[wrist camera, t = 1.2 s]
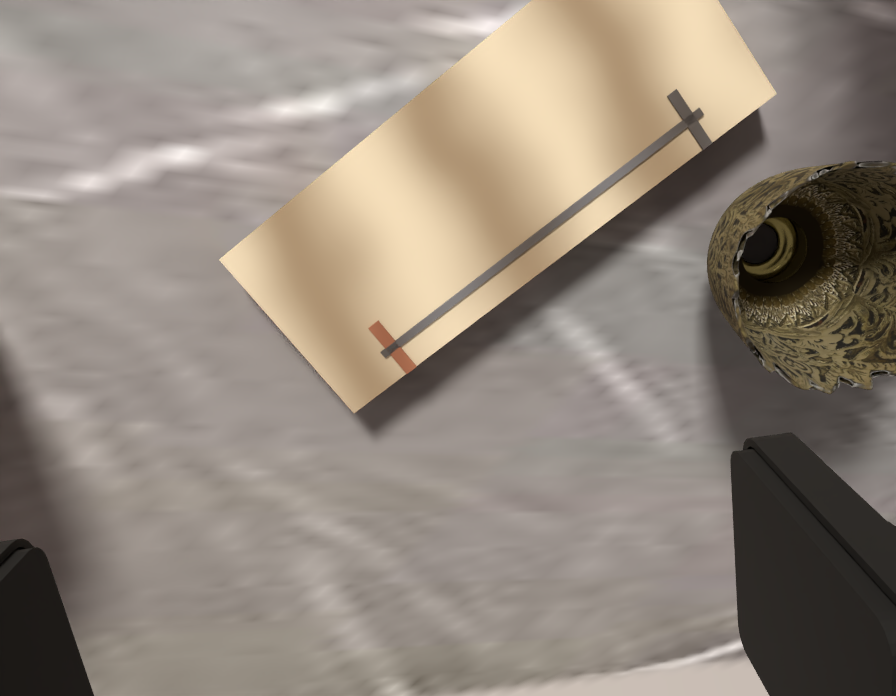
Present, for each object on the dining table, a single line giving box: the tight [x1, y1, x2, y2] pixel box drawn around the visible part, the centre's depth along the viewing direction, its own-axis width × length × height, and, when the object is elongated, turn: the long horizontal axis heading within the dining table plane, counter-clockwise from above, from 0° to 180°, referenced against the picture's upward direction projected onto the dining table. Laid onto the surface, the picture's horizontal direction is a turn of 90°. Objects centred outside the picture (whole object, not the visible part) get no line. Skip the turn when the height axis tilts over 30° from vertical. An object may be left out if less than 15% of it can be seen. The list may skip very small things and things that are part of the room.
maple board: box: [219, 0, 777, 413], centre depth 30 cm, size 20×8×2 cm, turn 128°
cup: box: [707, 161, 896, 394], centre depth 28 cm, size 8×7×8 cm
